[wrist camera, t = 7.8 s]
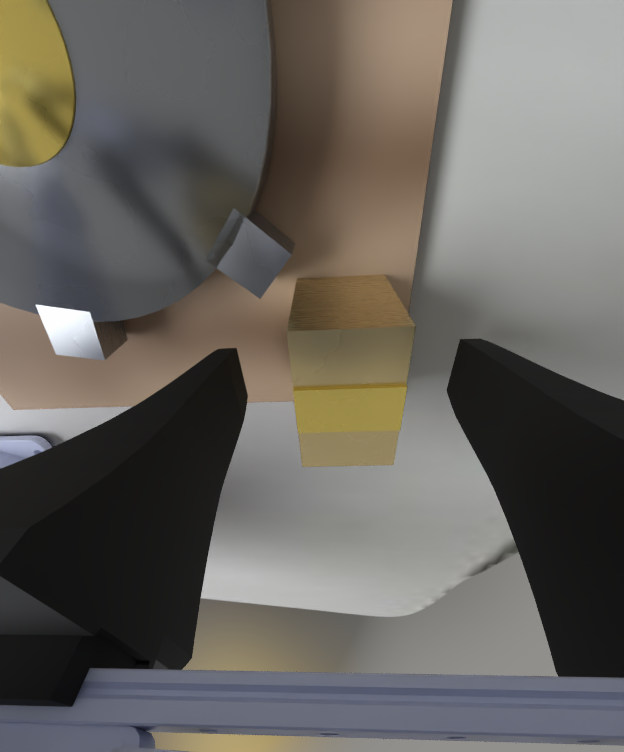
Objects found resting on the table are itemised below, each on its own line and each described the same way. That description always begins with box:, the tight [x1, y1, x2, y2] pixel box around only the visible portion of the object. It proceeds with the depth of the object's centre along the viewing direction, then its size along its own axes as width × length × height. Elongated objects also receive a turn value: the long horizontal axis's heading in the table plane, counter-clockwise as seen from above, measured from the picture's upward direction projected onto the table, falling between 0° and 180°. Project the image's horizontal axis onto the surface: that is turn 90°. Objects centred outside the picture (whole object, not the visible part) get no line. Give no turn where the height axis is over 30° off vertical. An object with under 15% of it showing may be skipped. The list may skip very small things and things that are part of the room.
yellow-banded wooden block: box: [287, 274, 416, 467], centre depth 10 cm, size 5×3×4 cm, turn 3°
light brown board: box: [0, 0, 453, 410], centre depth 8 cm, size 20×18×1 cm
